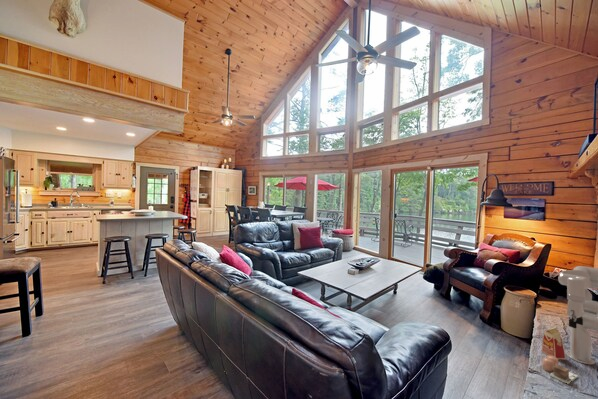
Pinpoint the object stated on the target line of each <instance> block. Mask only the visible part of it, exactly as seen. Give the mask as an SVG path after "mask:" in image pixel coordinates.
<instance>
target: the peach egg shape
mask: <svg viewBox="0 0 598 399" xmlns="http://www.w3.org/2000/svg"><path fill="white" fill-rule="evenodd" d="M546 358H548V359H550V360H552V361H553V362H554V366H556V365H557V364H558V365H559V359H558V358H556V357H554V356H551V355H548V356H547V355H546Z"/></svg>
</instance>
